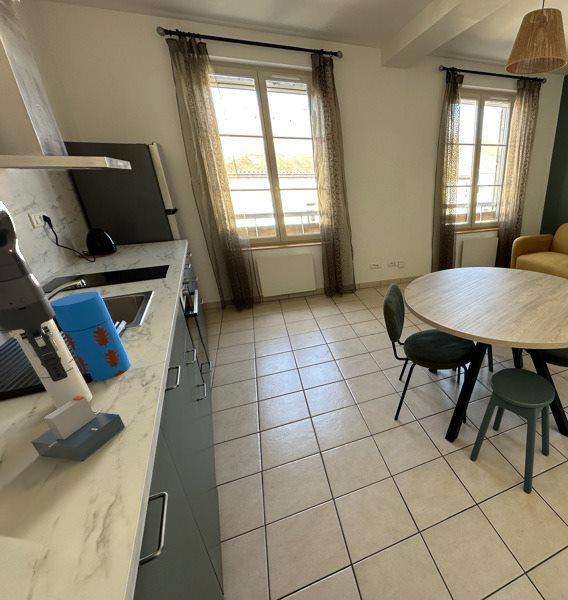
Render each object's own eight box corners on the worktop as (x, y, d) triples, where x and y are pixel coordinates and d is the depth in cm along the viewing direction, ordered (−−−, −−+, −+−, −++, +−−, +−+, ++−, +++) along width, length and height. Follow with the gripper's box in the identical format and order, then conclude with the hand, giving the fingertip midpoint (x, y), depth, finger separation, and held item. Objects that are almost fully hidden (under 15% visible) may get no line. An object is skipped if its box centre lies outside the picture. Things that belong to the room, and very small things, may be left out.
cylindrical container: (97, 391, 94) (57, 313, 84) (84, 407, 88) (39, 325, 78) (67, 397, 92) (22, 318, 82) (51, 414, 86) (1, 330, 76)
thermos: (101, 384, 97) (62, 308, 87) (79, 377, 100) (40, 303, 90) (139, 364, 106) (108, 293, 96) (118, 358, 110) (86, 289, 100)
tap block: (36, 457, 73) (27, 443, 71) (88, 420, 83) (81, 407, 81) (80, 463, 71) (71, 449, 69) (127, 425, 81) (121, 412, 79)
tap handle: (64, 439, 72) (50, 417, 69) (56, 438, 72) (42, 417, 70) (96, 416, 78) (85, 396, 76) (88, 416, 79) (77, 395, 76)
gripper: (-16, 299, 63) (26, 369, 69) (-10, 317, 55) (36, 394, 61) (39, 286, 68) (73, 353, 74) (51, 301, 60) (88, 374, 66)
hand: (56, 371), depth 68 cm, fingers open, 8 cm apart
